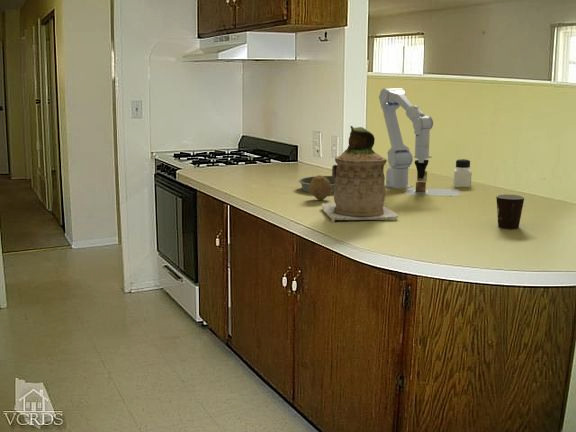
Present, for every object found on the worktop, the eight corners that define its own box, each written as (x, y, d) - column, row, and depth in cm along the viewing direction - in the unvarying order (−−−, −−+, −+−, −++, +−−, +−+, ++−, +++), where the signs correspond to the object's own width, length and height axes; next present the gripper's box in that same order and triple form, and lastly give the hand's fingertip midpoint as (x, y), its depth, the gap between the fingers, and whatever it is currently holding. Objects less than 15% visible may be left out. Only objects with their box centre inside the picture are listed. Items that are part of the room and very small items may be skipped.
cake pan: (308, 184, 299) (308, 174, 298) (360, 186, 291) (360, 176, 290) (291, 193, 276) (290, 182, 275) (346, 196, 268) (346, 185, 267)
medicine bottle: (470, 187, 283) (472, 160, 281) (454, 187, 285) (455, 160, 282) (469, 185, 290) (470, 158, 287) (453, 184, 291) (454, 158, 289)
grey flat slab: (405, 195, 267) (405, 194, 266) (407, 189, 282) (407, 187, 282) (460, 197, 262) (460, 196, 262) (459, 190, 277) (459, 189, 277)
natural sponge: (304, 199, 260) (303, 175, 258) (320, 196, 266) (320, 173, 264) (318, 202, 253) (318, 177, 251) (335, 200, 259) (335, 175, 256)
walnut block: (415, 192, 271) (415, 183, 270) (415, 190, 275) (416, 181, 274) (425, 192, 270) (425, 183, 270) (425, 191, 274) (425, 181, 273)
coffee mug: (499, 222, 216) (500, 193, 214) (525, 225, 212) (527, 195, 209) (488, 229, 207) (489, 199, 205) (515, 233, 202) (517, 201, 200)
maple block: (417, 181, 270) (417, 171, 269) (417, 179, 274) (417, 170, 273) (426, 181, 269) (427, 172, 268) (426, 180, 273) (427, 170, 272)
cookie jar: (400, 221, 221) (403, 127, 214) (329, 223, 219) (329, 128, 212) (384, 206, 245) (386, 122, 238) (320, 208, 243) (320, 123, 236)
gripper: (431, 147, 261) (430, 180, 264) (432, 143, 275) (431, 175, 277) (414, 147, 262) (412, 180, 265) (415, 143, 276) (414, 174, 279)
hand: (421, 177), depth 271 cm, fingers closed on maple block, 4 cm apart
